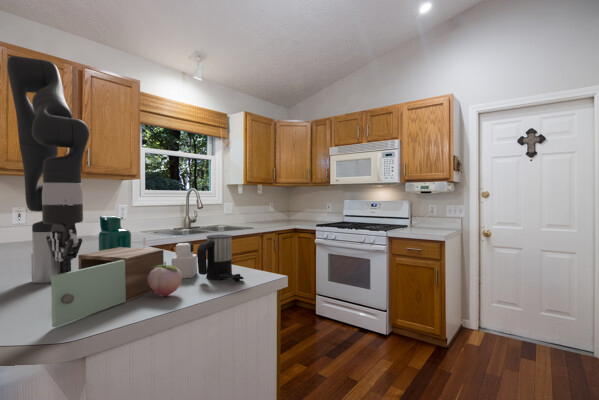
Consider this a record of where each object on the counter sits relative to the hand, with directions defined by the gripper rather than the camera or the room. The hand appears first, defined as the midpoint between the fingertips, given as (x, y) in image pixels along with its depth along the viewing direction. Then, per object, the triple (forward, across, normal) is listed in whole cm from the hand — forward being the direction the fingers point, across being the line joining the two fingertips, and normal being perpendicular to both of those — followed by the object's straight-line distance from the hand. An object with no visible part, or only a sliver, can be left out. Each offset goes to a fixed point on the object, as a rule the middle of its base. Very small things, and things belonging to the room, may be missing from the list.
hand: (64, 276), depth 72 cm
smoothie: (+11, -22, +33) cm, 41 cm away
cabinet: (+10, -10, +19) cm, 24 cm away
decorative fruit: (+10, +5, +23) cm, 26 cm away
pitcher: (+11, -30, +27) cm, 41 cm away
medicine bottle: (+11, -10, +41) cm, 43 cm away
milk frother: (+11, +6, +45) cm, 47 cm away
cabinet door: (+10, +3, +5) cm, 11 cm away
